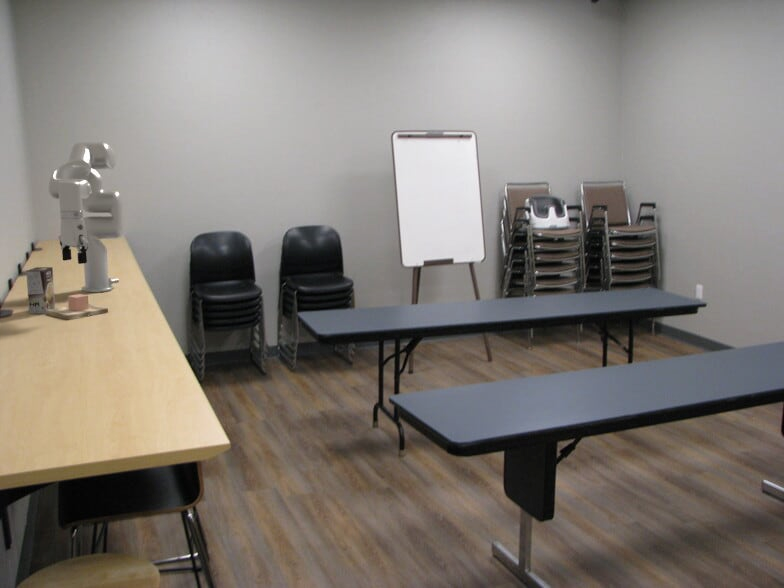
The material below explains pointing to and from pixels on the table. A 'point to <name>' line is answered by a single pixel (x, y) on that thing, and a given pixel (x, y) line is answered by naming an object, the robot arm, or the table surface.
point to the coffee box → (40, 289)
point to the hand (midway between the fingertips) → (74, 261)
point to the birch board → (76, 312)
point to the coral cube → (78, 302)
